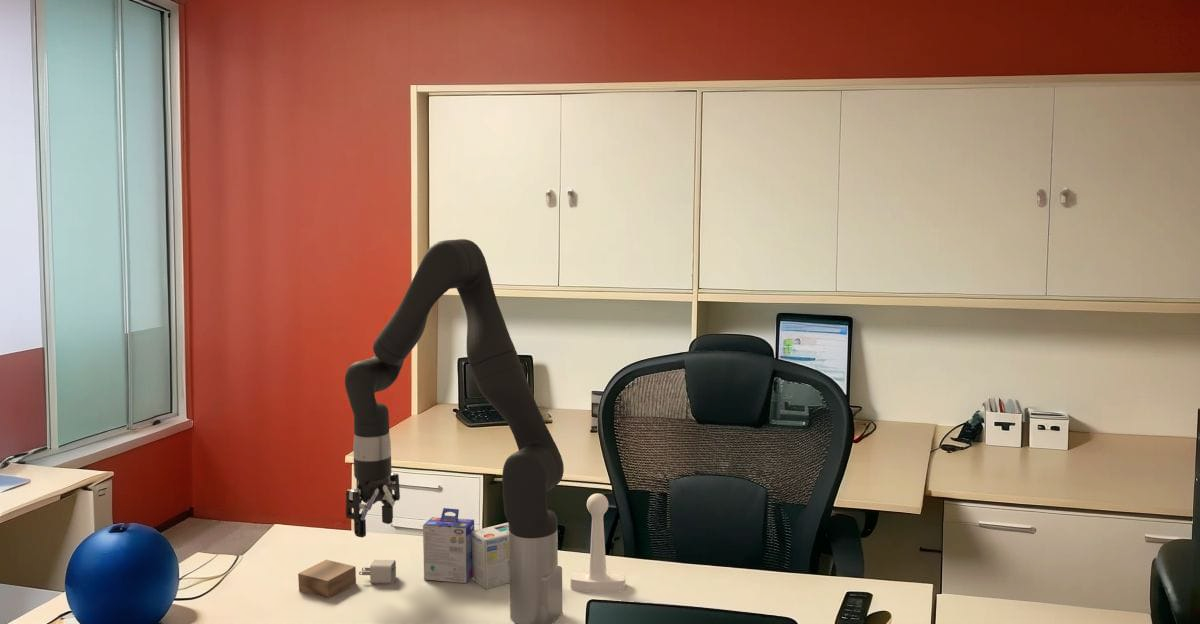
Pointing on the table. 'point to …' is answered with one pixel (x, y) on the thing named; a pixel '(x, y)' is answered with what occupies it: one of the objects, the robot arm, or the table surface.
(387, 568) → the usb wall charger
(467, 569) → the ink cartridge box
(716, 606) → the table surface
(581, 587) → the joystick
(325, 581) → the walnut block
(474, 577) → the light bulb box
